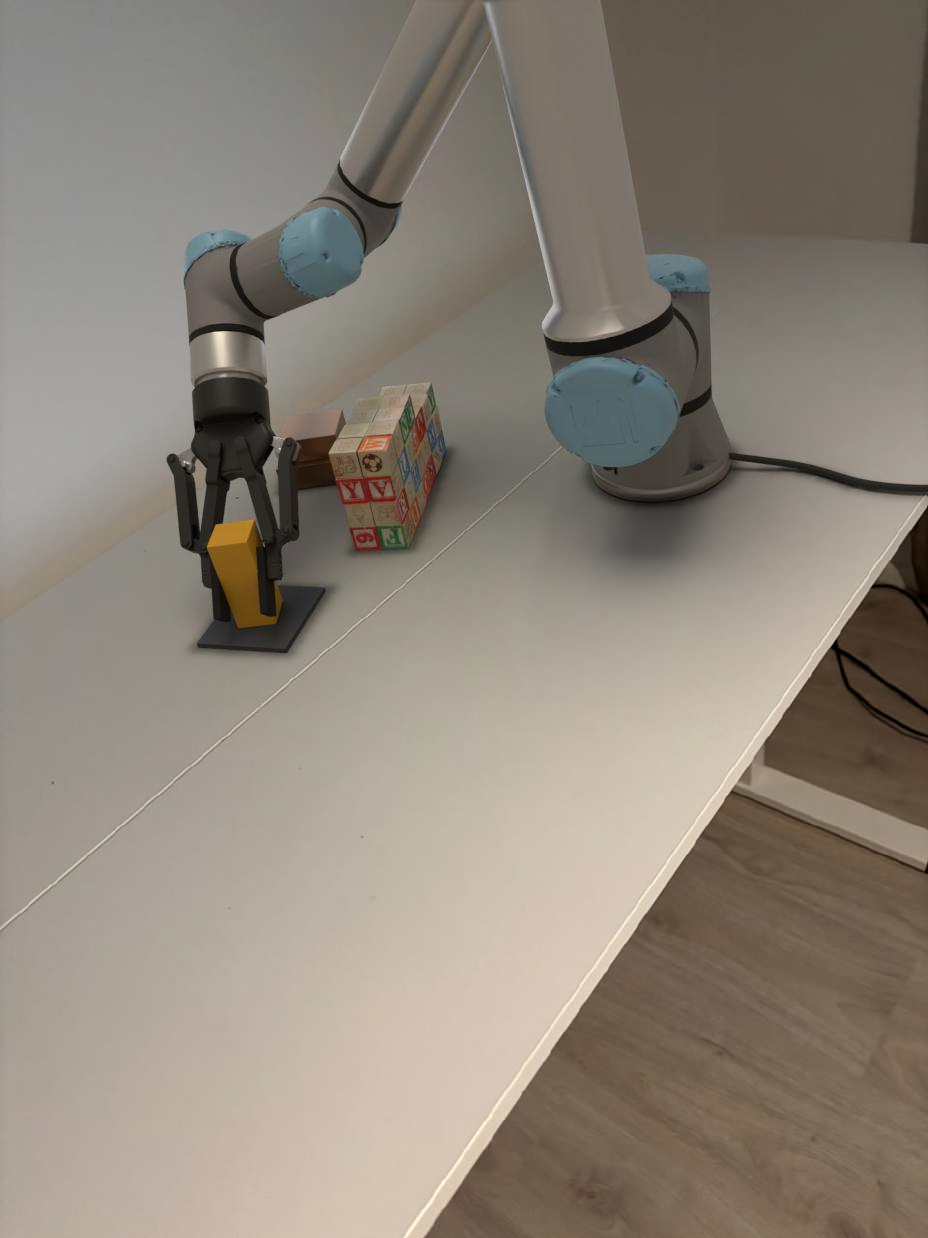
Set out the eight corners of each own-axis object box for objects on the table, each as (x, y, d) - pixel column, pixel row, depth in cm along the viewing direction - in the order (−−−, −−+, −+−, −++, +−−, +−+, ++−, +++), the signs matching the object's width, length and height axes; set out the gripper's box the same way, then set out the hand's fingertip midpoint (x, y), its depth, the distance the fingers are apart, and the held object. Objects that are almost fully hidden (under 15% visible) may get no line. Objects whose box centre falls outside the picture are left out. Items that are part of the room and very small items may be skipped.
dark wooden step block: (361, 445, 132) (350, 403, 128) (353, 481, 124) (342, 437, 121) (294, 455, 133) (281, 413, 129) (282, 491, 126) (268, 447, 122)
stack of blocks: (399, 453, 128) (377, 361, 121) (447, 450, 127) (428, 357, 119) (354, 551, 112) (326, 452, 104) (409, 549, 110) (385, 448, 103)
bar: (283, 600, 106) (254, 518, 100) (276, 624, 103) (246, 541, 97) (246, 604, 106) (215, 524, 100) (238, 628, 103) (206, 547, 97)
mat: (326, 590, 107) (324, 587, 106) (286, 652, 99) (285, 648, 99) (242, 587, 110) (240, 583, 110) (197, 647, 103) (196, 643, 102)
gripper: (322, 388, 106) (340, 612, 102) (165, 411, 108) (177, 631, 105) (301, 361, 98) (319, 602, 95) (132, 386, 100) (145, 622, 97)
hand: (245, 616), depth 100 cm, fingers closed on bar, 4 cm apart
